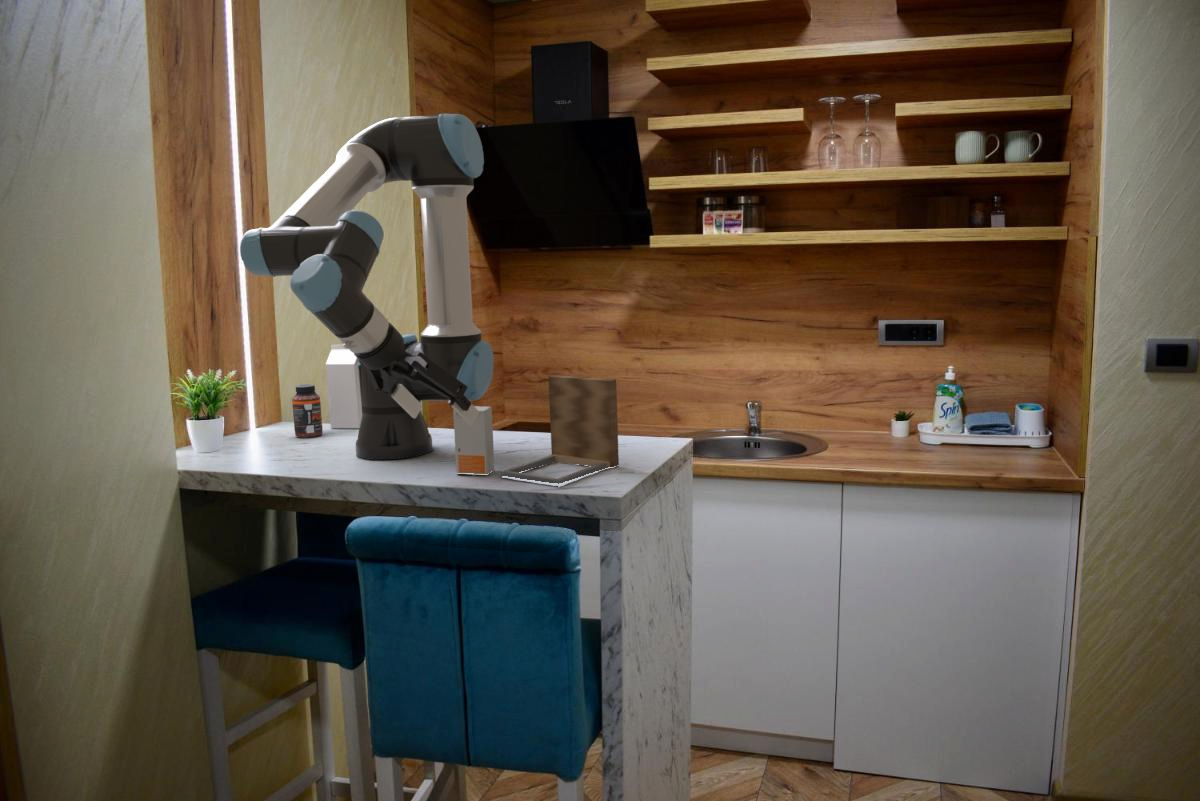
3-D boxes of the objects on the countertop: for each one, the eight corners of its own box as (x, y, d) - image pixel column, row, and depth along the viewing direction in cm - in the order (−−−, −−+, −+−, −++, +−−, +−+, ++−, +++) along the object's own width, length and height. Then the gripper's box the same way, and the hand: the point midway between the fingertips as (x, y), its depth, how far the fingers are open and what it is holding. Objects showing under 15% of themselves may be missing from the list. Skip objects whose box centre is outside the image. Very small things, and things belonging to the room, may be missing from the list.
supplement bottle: (318, 438, 204) (313, 387, 202) (291, 438, 204) (286, 387, 202) (326, 432, 210) (322, 382, 208) (300, 433, 210) (295, 383, 208)
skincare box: (455, 475, 167) (451, 410, 165) (464, 469, 171) (460, 405, 169) (488, 476, 166) (484, 410, 164) (495, 470, 170) (492, 406, 168)
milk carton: (359, 429, 213) (352, 346, 209) (330, 428, 214) (323, 346, 211) (373, 423, 220) (366, 342, 216) (345, 422, 221) (338, 342, 218)
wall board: (551, 459, 177) (548, 376, 174) (558, 457, 178) (555, 375, 176) (612, 468, 169) (609, 381, 166) (618, 466, 170) (616, 379, 167)
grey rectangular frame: (501, 478, 165) (500, 471, 164) (554, 460, 176) (553, 454, 176) (559, 487, 157) (558, 480, 157) (610, 468, 169) (610, 461, 169)
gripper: (308, 352, 152) (385, 426, 166) (414, 360, 137) (489, 440, 152) (332, 317, 155) (406, 392, 170) (438, 320, 141) (509, 403, 155)
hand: (445, 415), depth 161 cm, fingers open, 13 cm apart
